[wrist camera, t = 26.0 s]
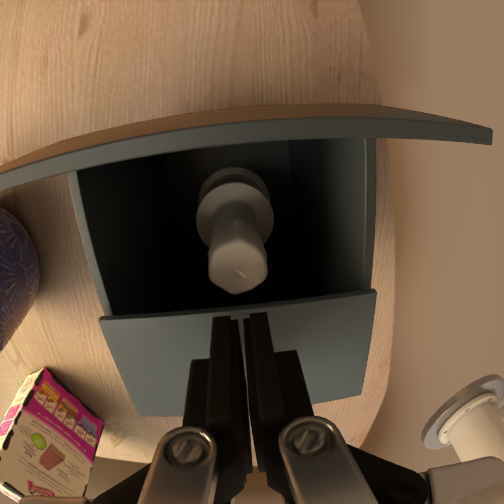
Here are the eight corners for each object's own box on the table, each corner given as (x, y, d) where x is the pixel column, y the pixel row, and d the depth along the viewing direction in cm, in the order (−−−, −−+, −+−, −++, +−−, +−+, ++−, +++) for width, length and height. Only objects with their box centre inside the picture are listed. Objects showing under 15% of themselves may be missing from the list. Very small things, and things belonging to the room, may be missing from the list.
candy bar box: (25, 374, 30) (-26, 472, 15) (44, 364, 30) (-12, 474, 14) (84, 429, 34) (55, 526, 19) (107, 423, 34) (79, 530, 19)
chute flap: (359, 390, 13) (361, 394, 12) (141, 411, 12) (139, 416, 12) (374, 287, 11) (377, 291, 10) (100, 315, 10) (97, 320, 10)
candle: (279, 178, 23) (324, 232, 12) (257, 243, 25) (278, 340, 14) (209, 158, 22) (188, 192, 11) (190, 225, 24) (160, 313, 13)
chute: (298, 257, 26) (396, 479, 8) (179, 270, 26) (121, 504, 8) (290, 114, 22) (494, 103, 4) (157, 128, 22) (-58, 171, 3)
